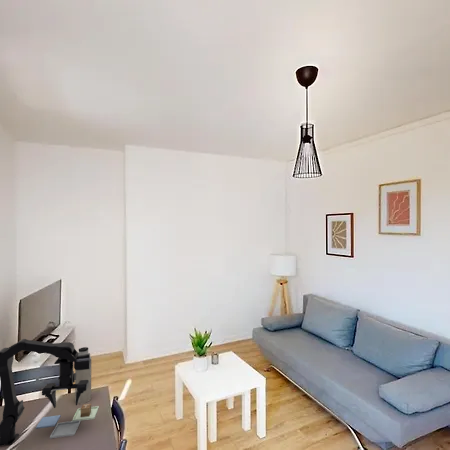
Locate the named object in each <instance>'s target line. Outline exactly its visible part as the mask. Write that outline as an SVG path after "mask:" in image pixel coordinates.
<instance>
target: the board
mask: <svg viewBox="0 0 450 450" xmlns="http://www.w3.org/2000/svg"><path fill="white" fill-rule="evenodd" d="M60 418H61V414H59V415H52V416H51V415H50V416H43V417H41V419H40V421H39V422H38V424H37V425H36V427H35V429H46V428H52V427H54V428H55V427H56V425H57V424H58V423H59V420H60Z"/></svg>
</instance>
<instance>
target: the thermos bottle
mask: <svg viewBox="0 0 450 450" xmlns="http://www.w3.org/2000/svg"><path fill="white" fill-rule="evenodd" d="M78 353H79V355H85V354H90V355H91V353H90V352H89V347H87V346H85V347H80V348H78ZM90 359H91V360H92V357H91V356H90ZM74 373H77V374H76V380H75V382H74V384H78V383H79V382H80V380H88V381H89V386H88V388H87V390H86V391H84V392H83V393H81V395H80V398H79V401H78V404H77V405H83V404H87V403H88V402H90V401H91V400H92V366H91V367H90V369H87V370H79V371H77V370H75V369H74ZM76 392H77V388H75V391H74V402H75V404H76Z"/></svg>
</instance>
